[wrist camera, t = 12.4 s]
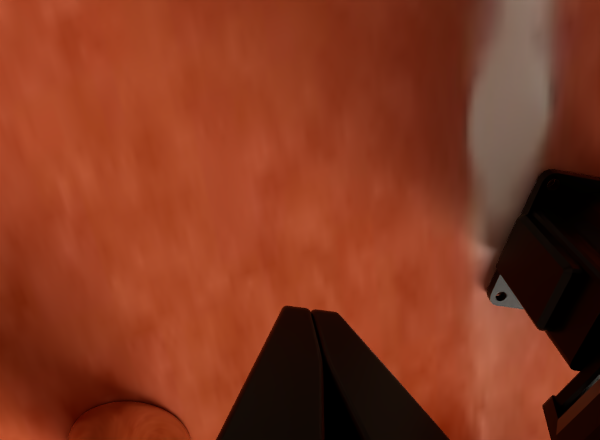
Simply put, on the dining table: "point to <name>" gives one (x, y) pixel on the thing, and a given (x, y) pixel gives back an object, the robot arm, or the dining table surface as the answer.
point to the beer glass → (127, 423)
